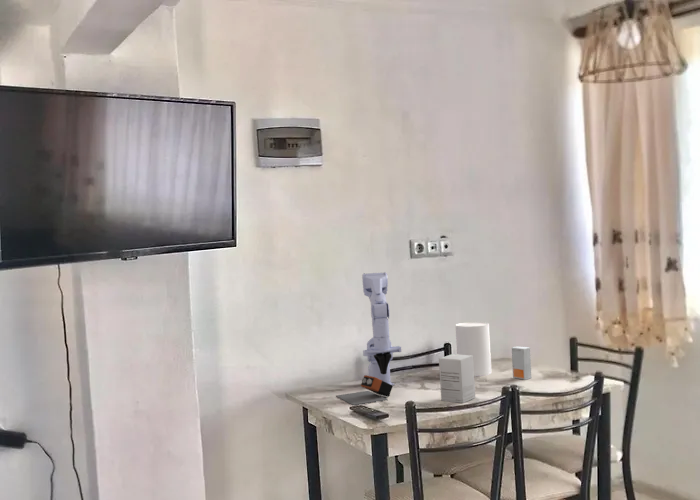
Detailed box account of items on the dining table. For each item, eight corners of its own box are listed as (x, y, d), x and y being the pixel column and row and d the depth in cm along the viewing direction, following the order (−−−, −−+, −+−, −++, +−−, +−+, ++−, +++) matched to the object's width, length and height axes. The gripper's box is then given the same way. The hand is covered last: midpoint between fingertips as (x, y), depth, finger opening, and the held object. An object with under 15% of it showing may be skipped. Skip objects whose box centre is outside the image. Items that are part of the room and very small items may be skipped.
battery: (389, 397, 261) (369, 387, 256) (377, 394, 266) (358, 385, 261) (393, 385, 262) (373, 376, 257) (381, 383, 267) (362, 373, 262)
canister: (451, 372, 299) (449, 324, 299) (478, 368, 305) (476, 321, 304) (470, 377, 287) (467, 327, 286) (498, 373, 293) (495, 324, 292)
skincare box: (512, 378, 282) (510, 347, 282) (519, 376, 284) (518, 345, 284) (524, 380, 277) (523, 348, 277) (532, 378, 280) (530, 347, 279)
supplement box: (453, 395, 258) (451, 353, 258) (476, 397, 252) (473, 355, 252) (440, 400, 251) (437, 357, 251) (462, 403, 245) (460, 359, 245)
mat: (336, 396, 267) (336, 395, 267) (368, 391, 272) (368, 390, 272) (353, 405, 251) (353, 404, 251) (387, 400, 256) (387, 399, 256)
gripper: (367, 339, 257) (369, 377, 258) (404, 335, 263) (406, 372, 263) (359, 337, 264) (362, 374, 264) (395, 333, 269) (397, 370, 270)
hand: (383, 373), depth 264 cm, fingers closed
